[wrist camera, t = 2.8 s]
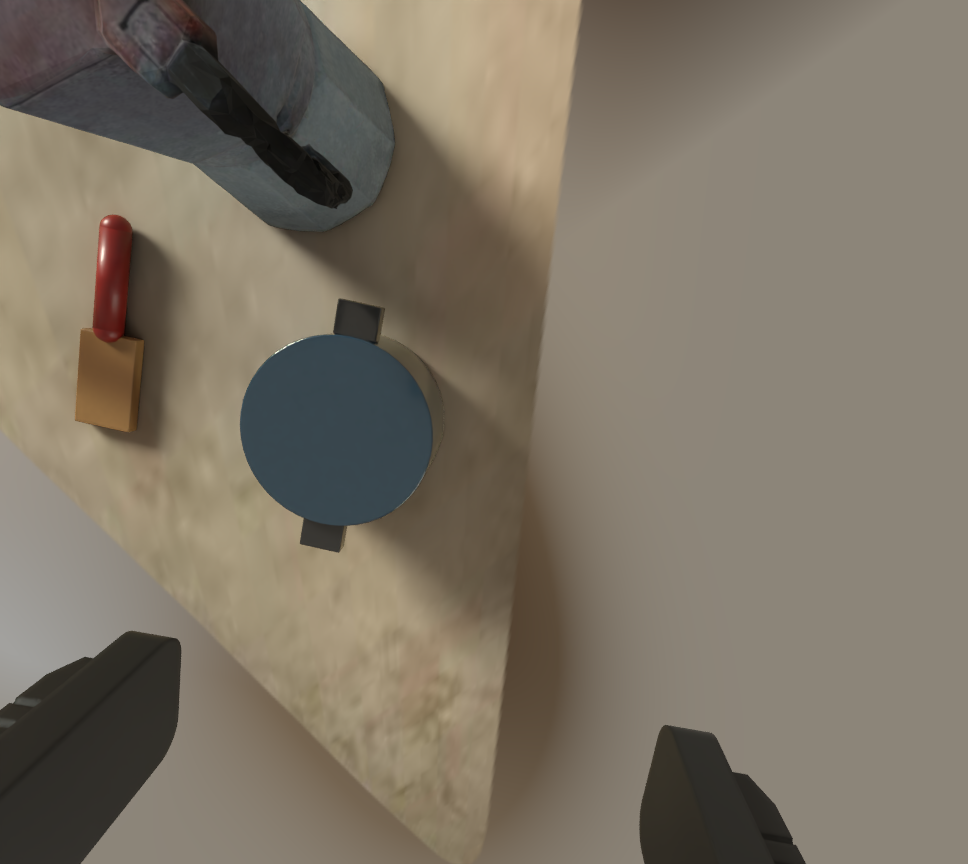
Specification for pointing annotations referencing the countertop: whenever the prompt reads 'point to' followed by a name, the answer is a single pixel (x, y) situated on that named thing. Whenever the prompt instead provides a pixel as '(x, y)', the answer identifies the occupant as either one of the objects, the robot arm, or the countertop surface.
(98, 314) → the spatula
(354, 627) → the countertop surface
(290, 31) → the moka pot
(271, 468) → the pot
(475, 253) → the countertop surface
